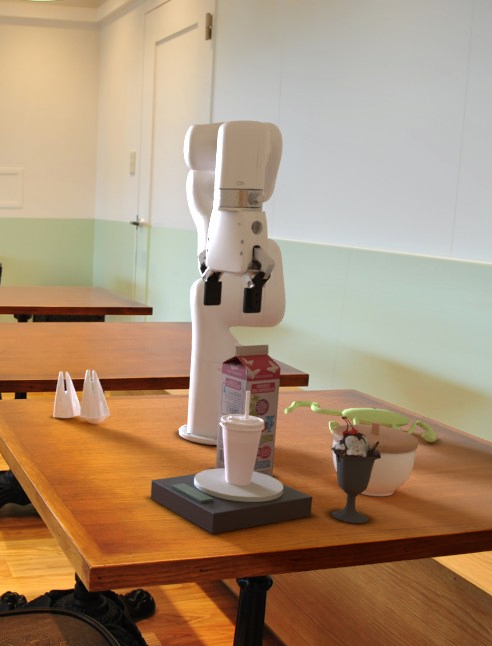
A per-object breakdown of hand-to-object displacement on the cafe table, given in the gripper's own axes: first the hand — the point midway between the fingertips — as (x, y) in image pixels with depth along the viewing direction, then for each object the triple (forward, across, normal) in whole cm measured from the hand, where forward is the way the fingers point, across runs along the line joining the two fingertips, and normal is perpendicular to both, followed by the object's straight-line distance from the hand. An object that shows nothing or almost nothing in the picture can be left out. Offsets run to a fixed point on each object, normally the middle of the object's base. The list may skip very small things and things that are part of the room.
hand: (231, 308), depth 134 cm
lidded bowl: (+28, -14, -19) cm, 37 cm away
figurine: (+28, +11, -43) cm, 53 cm away
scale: (+28, -12, +8) cm, 32 cm away
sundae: (+28, -22, -6) cm, 36 cm away
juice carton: (+28, 0, -5) cm, 29 cm away
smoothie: (+25, -12, +6) cm, 28 cm away
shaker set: (+28, +40, +4) cm, 49 cm away
